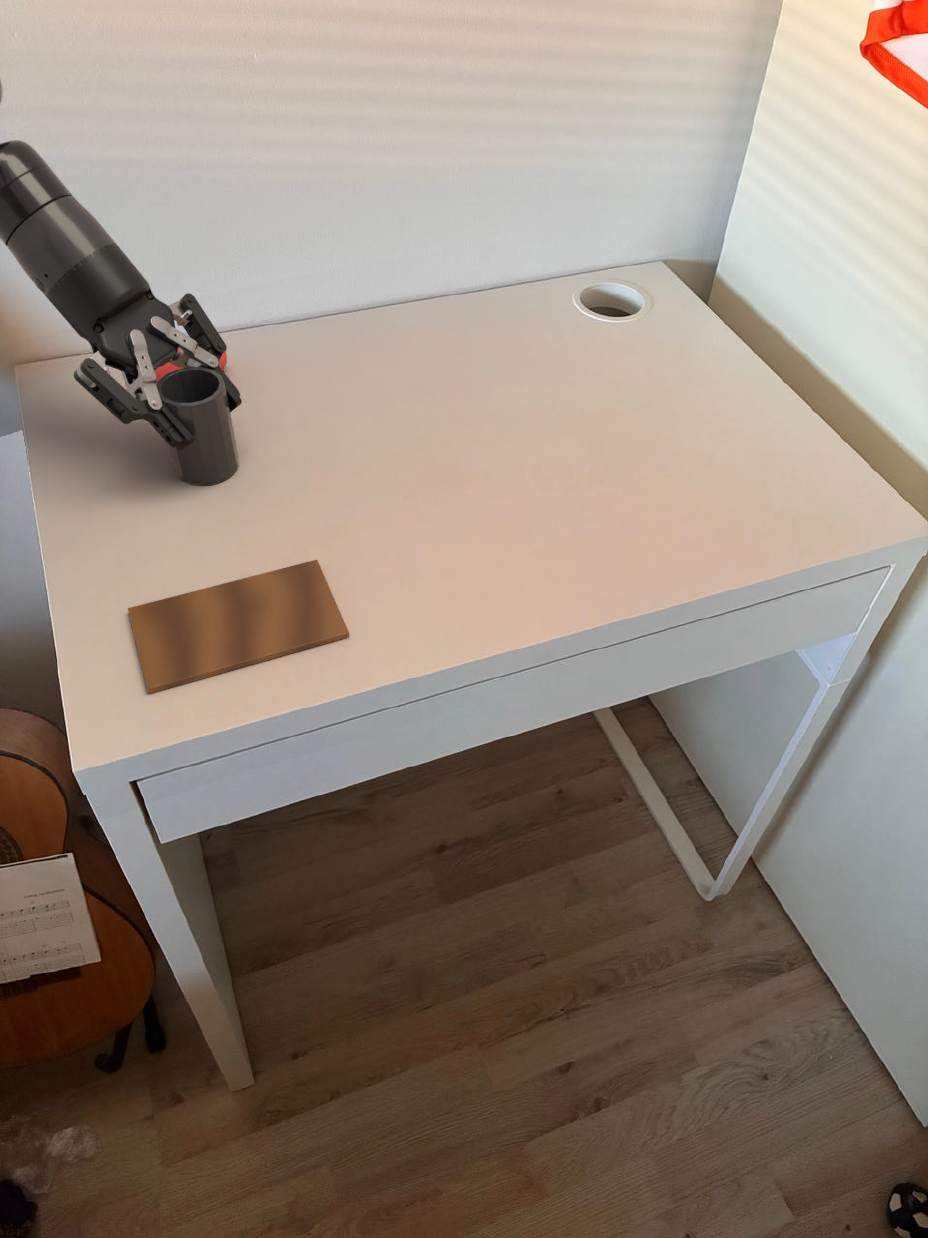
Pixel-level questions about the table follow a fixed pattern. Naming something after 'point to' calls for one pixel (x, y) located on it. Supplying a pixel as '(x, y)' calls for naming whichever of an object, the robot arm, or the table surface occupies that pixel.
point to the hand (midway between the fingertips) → (212, 425)
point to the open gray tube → (201, 425)
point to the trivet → (235, 625)
